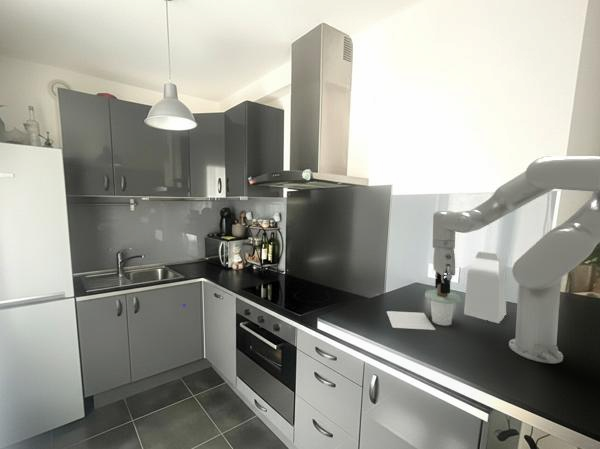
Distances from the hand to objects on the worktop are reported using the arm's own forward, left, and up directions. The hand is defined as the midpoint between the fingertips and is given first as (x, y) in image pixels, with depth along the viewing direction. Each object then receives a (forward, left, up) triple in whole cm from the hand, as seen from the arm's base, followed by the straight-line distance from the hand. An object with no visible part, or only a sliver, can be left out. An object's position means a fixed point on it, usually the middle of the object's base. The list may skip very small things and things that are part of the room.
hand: (442, 290), depth 104 cm
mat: (0, +12, -13) cm, 18 cm away
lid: (0, 0, -3) cm, 3 cm away
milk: (+10, -20, -13) cm, 26 cm away
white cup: (0, 0, -13) cm, 13 cm away
